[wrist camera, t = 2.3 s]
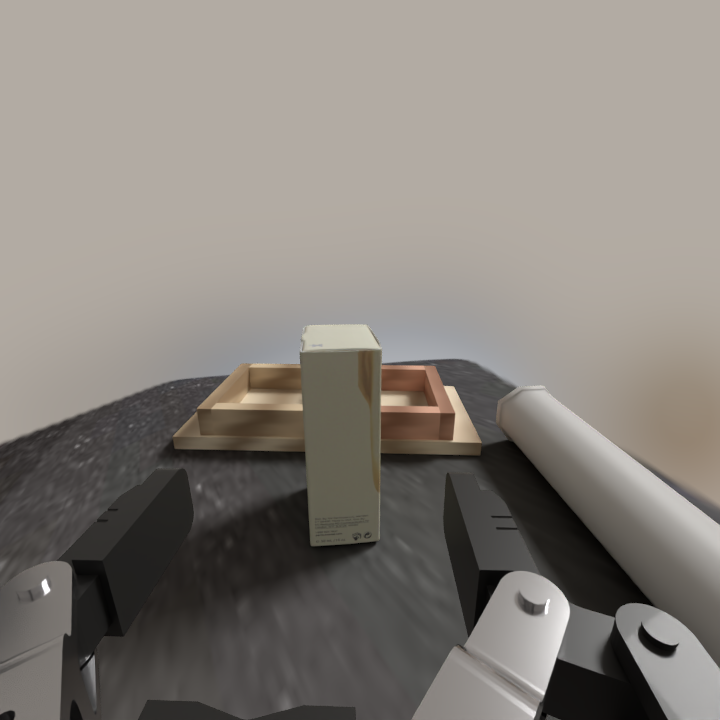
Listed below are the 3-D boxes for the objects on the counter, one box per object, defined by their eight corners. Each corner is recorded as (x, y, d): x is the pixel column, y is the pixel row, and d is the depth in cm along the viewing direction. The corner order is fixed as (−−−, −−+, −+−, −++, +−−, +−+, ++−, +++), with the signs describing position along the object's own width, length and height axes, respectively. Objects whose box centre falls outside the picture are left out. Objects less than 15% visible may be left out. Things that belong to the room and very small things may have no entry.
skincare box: (381, 544, 23) (386, 349, 19) (308, 550, 23) (297, 352, 19) (368, 478, 29) (369, 320, 25) (310, 482, 29) (302, 322, 25)
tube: (1047, 858, 11) (558, 427, 35) (1109, 762, 9) (548, 375, 33) (864, 910, 11) (501, 446, 35) (890, 827, 9) (488, 396, 33)
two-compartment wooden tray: (174, 448, 33) (167, 409, 32) (225, 392, 44) (222, 362, 43) (480, 455, 32) (485, 415, 31) (452, 396, 43) (455, 365, 42)
